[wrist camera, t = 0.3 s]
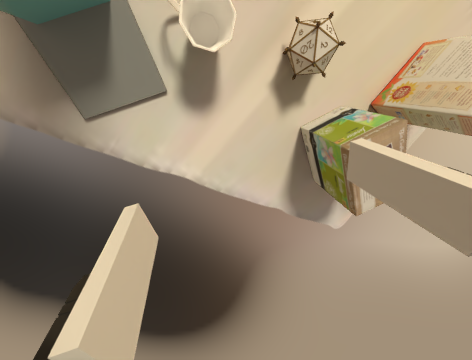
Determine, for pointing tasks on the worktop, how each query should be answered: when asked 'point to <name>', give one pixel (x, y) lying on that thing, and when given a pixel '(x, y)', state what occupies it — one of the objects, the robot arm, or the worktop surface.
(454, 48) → the cracker box
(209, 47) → the cup
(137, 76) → the mat
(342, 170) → the tea box
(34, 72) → the worktop surface
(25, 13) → the tile
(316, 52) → the game die
